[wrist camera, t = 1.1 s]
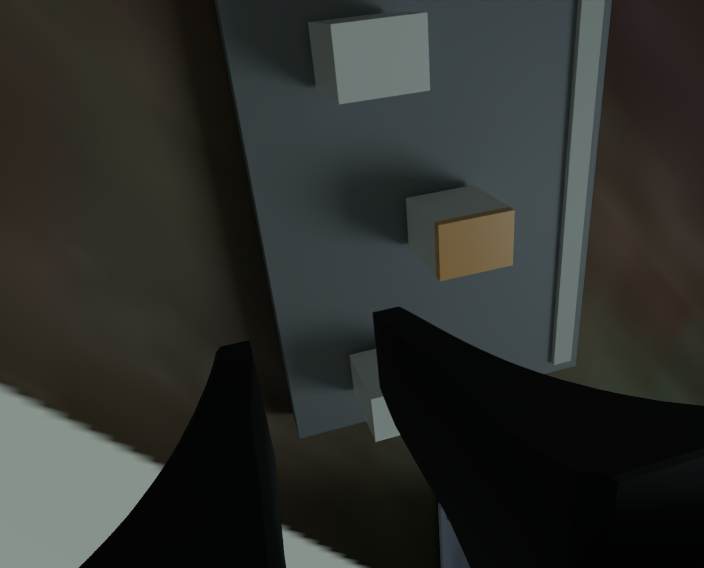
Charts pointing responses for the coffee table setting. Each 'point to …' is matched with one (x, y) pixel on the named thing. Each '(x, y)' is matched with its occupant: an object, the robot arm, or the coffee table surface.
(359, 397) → the breaker
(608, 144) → the coffee table surface
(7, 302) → the coffee table surface
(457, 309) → the breaker board
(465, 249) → the block
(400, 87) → the block
